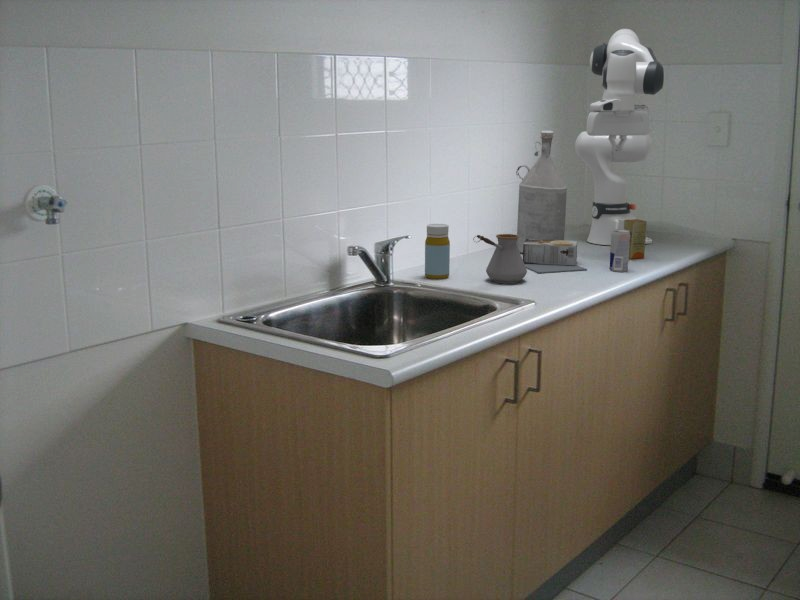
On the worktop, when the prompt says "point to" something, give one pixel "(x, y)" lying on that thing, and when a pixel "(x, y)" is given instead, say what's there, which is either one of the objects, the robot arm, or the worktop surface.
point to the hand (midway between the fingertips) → (616, 150)
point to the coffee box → (550, 252)
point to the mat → (553, 268)
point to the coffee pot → (505, 260)
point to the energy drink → (619, 250)
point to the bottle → (437, 251)
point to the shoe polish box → (636, 238)
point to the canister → (541, 198)
